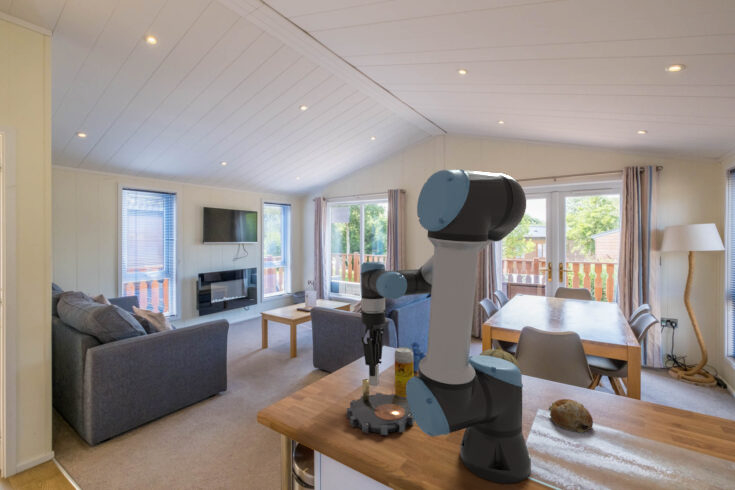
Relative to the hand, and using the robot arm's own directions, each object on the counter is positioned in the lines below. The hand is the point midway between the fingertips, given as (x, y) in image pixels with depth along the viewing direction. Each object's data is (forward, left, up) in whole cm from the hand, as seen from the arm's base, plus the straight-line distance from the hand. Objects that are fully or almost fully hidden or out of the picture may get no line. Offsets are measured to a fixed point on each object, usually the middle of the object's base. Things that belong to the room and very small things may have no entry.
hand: (373, 384), depth 107 cm
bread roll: (-40, -38, -5) cm, 56 cm away
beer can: (-3, -10, -5) cm, 12 cm away
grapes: (+10, -27, -5) cm, 30 cm away
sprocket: (-10, +4, -5) cm, 12 cm away
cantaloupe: (-19, -36, -5) cm, 41 cm away
